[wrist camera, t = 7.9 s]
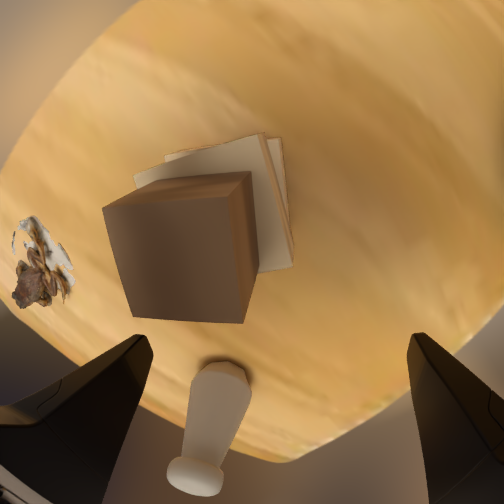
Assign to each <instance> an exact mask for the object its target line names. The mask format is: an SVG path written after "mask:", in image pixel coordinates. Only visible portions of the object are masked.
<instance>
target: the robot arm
mask: <svg viewBox="0 0 504 504" xmlns="http://www.w3.org/2000/svg"><path fill="white" fill-rule="evenodd" d="M152 360H153V351H152V348H151V346H150V343H149V341H148V339H147V337H146V336H145V335H140V334H135V335H133V336H131V337H130V338H128V339H126V340H125V341H123V342H121V343H120V344H118V345H116V346H115V347H113V348H111V349H110V350H108V351H106V352H105V353H103V354H101V355H100V356H98V357H96V358H95V359H93V360H91V361H90V362H88V363H86V364H85V365H83V366H81V367H80V368H78V369H76V370H75V371H73V372H71V373H70V374H68V375H66V376H64V377H63V379H62V378H61V379H59V380H58V381H56V382H54V383H53V384H51V385H49V386H47V387H45V388H44V389H42V390H40V391H38V392H36V393H34V394H32V395H30V396H28V397H25V398H24V399H22V400H19V401H17V402H15V403H13V404H10V405H6V406H0V504H102V501H103V498H104V495H105V492H106V489H107V486H108V483H109V481H110V478H111V475H112V472H113V469H114V467H115V464H116V461H117V458H118V456H119V453H120V450H121V447H122V445H123V442H124V440H125V437H126V434H127V432H128V429H129V427H130V424H131V421H132V419H133V416H134V414H135V411H136V409H137V406H138V404H139V401H140V399H141V396H142V394H143V391H144V388H145V384H146V381H147V377H148V374H149V370H150V367H151V363H152ZM407 363H408V370H409V378H410V387H411V394H412V401H413V406H414V411H415V415H416V420H417V425H418V430H419V435H420V440H421V446H422V452H423V458H424V465H425V472H426V480H427V488H428V497H429V504H504V400H503V399H502V398H501V397H500V396H499V395H497V394H496V393H495V392H494V391H493V390H491V389H490V388H489V387H488V386H487V385H486V384H485V383H484V382H483V381H482V380H480V379H479V378H478V377H477V376H476V375H475V374H473V373H472V372H471V371H470V370H469V369H468V368H466V367H465V366H464V365H463V364H462V363H461V362H459V361H458V360H457V359H456V358H455V357H453V356H452V355H451V354H450V353H449V352H447V351H446V350H445V349H444V348H443V347H441V346H440V345H439V344H438V343H437V342H435V341H434V340H433V339H432V338H431V337H429V336H428V335H427V334H426V333H424V332H421V333H414V334H412V336H411V339H410V343H409V347H408V351H407Z"/></svg>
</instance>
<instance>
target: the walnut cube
mask: <svg viewBox="0 0 504 504" xmlns="http://www.w3.org/2000/svg"><path fill="white" fill-rule="evenodd" d="M102 211H103V215H104V219H105V224H106V228H107V232H108V236H109V240H110V243H111V247H112V251H113V255H114V258H115V262H116V265H117V269H118V272H119V275H120V279H121V282H122V285H123V288H124V291H125V295H126V298H127V301H128V304H129V307H130V309H131V312H132V315H133V317H140V318H151V319H164V320H177V321H193V322H212V323H237V324H243V322H244V319H245V315H246V312H247V308H248V305H249V301H250V298H251V294H252V291H253V287H254V284H255V280H256V276H257V273H258V269H259V266H260V264H259V252H258V241H257V229H256V218H255V207H254V196H253V185H252V174H251V171H242V172H228V173H216V174H205V175H195V176H186V177H177V178H168V179H160V180H156V181H153V182H151V183H149V184H147V185H145V186H143V187H141V188H139V189H137V190H135V191H133V192H131V193H129V194H128V195H126V196H124V197H122V198H120V199H118V200H116V201H114V202H112V203H110V204H109V205H107V206H105V207H103V208H102Z"/></svg>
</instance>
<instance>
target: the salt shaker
mask: <svg viewBox="0 0 504 504" xmlns="http://www.w3.org/2000/svg"><path fill="white" fill-rule="evenodd" d="M251 396H252V391H251V389H250V386H249V384H248V382H247V379H246V375H245V372H244V370H243V369H241V368H240V367H238V366H236V365H234V364H232V363H231V362H229V361H223V362H212V363H210V364H208V365H207V366H206V367H205V368H203V369H202V370H201V371H200V372H199V373H198V374H197V375H196V376H195V377H194V378H193V380H192V381H191V388H190V396H189V403H188V411H187V419H186V427H185V433H184V440H183V447H182V455H181V457H176V458H175V459H173V460H172V461H171V462H170V464H169V467H168V470H167V479H168V480H169V482H170V483H171V484H172V485H173V486H174V487H176V488H178V489H180V490H182V491H184V492H186V493H189V494H193V495H198V496H213V495H215V494H217V493H219V491H220V489H221V487H222V483H223V478H224V475H223V472H222V471H221V470H220V469H219V467H220V466H221V463H222V461H223V459H224V457H225V455H226V453H227V451H228V449H229V447H230V445H231V443H232V441H233V439H234V436H235V434H236V432H237V430H238V428H239V426H240V424H241V421H242V419H243V417H244V415H245V413H246V410H247V408H248V406H249V404H250V400H251Z"/></svg>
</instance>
